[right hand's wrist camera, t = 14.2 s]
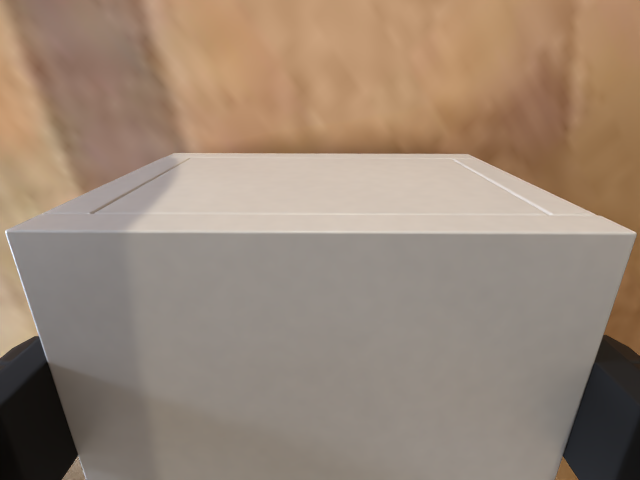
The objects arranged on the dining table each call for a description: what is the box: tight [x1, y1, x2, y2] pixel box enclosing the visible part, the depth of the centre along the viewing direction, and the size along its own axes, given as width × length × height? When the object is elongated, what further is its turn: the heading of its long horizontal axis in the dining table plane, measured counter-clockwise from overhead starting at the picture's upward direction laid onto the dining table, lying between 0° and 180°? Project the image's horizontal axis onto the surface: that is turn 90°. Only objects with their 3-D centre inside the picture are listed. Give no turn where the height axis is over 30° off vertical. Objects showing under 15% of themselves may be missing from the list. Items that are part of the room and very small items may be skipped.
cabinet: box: [5, 153, 637, 480], centre depth 14 cm, size 17×11×8 cm
